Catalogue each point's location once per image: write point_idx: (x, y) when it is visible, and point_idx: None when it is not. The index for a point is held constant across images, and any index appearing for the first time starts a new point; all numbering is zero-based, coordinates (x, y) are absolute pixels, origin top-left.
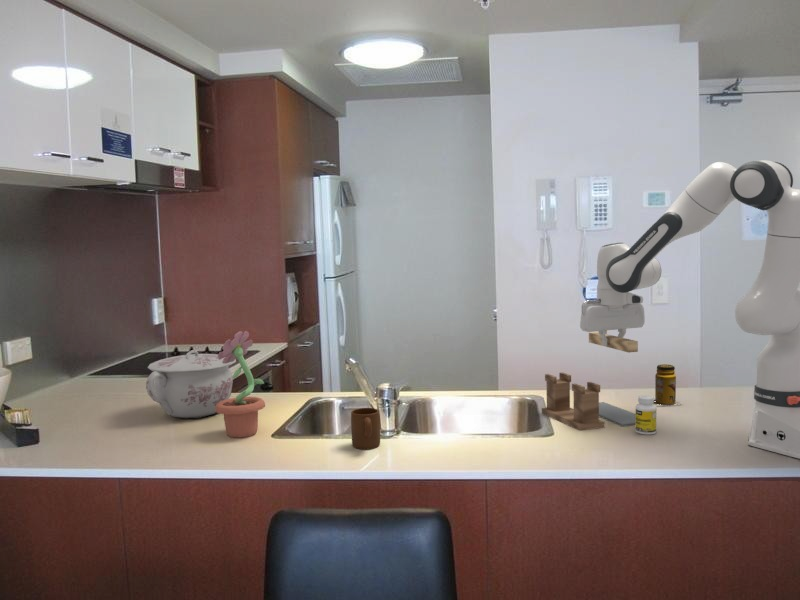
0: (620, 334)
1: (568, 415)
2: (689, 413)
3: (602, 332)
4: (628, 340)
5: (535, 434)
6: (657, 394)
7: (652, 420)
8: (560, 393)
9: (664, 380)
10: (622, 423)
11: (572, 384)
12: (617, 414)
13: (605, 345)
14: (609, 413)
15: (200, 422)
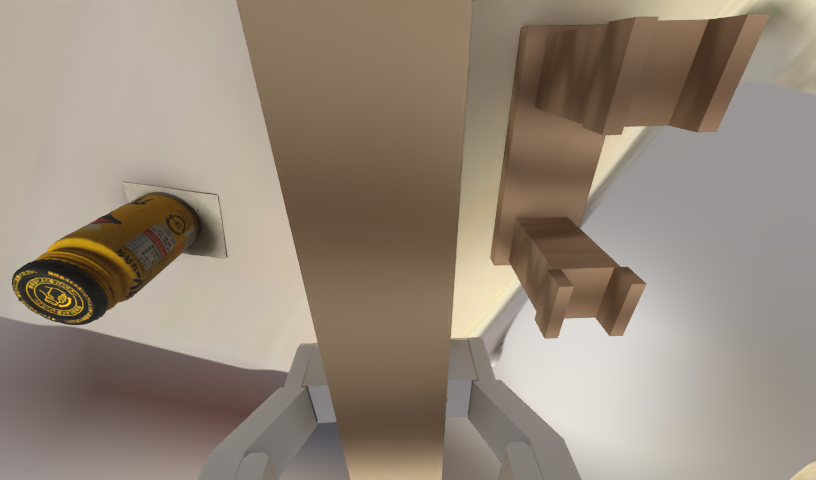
0: (281, 444)
1: (568, 161)
2: (126, 68)
3: (573, 469)
4: (363, 135)
5: (776, 48)
6: (181, 233)
7: None
8: (575, 245)
9: (119, 239)
10: None
11: (715, 125)
12: None
13: (475, 338)
14: None
15: None
